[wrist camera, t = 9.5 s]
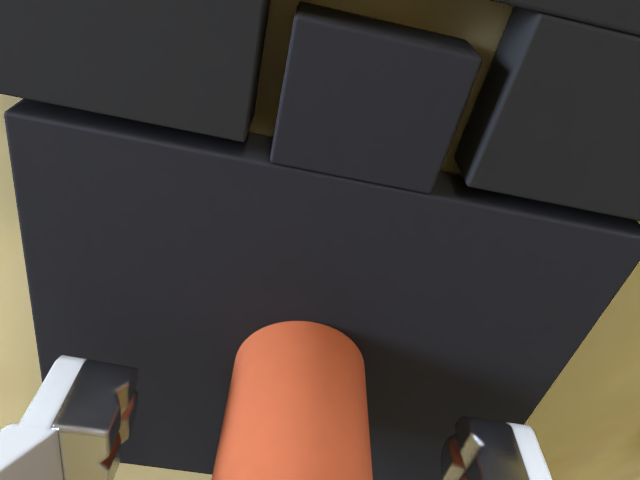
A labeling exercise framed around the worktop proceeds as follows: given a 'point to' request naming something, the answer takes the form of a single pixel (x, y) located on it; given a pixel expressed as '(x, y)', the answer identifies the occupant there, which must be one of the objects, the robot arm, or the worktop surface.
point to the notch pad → (245, 62)
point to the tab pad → (308, 266)
